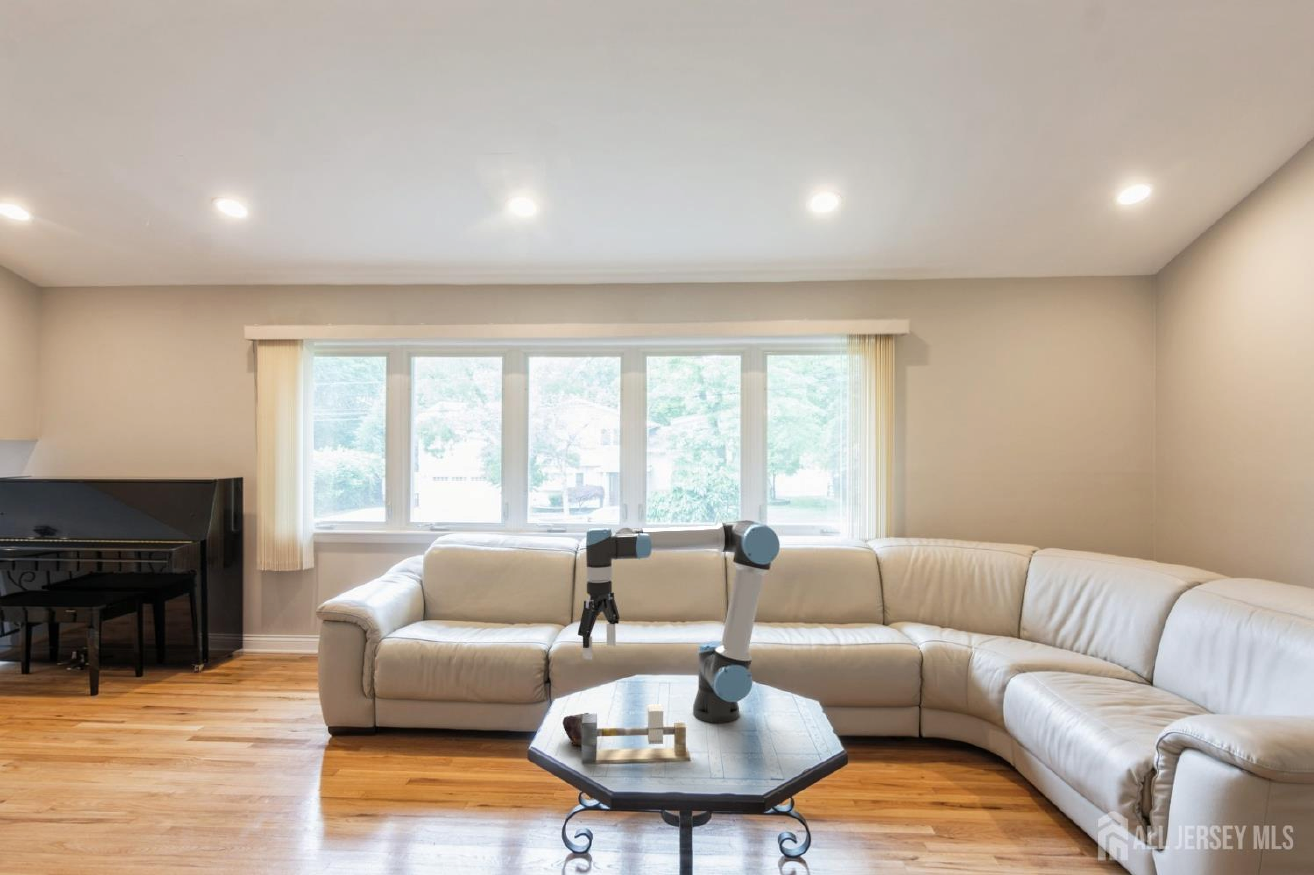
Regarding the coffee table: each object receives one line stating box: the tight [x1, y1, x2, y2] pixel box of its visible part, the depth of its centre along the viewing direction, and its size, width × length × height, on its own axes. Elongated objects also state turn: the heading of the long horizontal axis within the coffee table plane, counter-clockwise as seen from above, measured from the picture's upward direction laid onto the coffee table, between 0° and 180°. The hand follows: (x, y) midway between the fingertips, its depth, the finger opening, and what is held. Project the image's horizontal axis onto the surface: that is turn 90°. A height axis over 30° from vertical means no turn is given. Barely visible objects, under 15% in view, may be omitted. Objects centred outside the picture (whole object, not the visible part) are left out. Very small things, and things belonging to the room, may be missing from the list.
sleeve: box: [647, 703, 664, 745], centre depth 176 cm, size 4×5×9 cm
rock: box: [561, 712, 590, 746], centre depth 184 cm, size 12×9×10 cm
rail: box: [581, 713, 691, 764], centre depth 175 cm, size 30×6×11 cm, turn 94°
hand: (599, 651), depth 185 cm, fingers open, 13 cm apart
